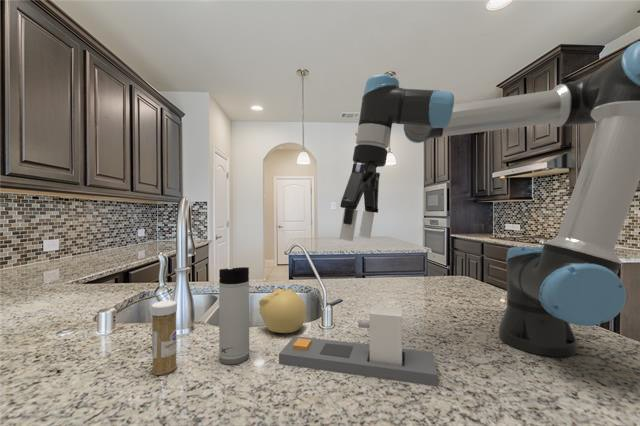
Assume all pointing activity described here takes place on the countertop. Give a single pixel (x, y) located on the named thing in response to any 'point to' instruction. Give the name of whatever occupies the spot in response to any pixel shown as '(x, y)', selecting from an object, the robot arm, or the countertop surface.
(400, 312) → the block
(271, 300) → the tan round potato
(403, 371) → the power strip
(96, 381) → the countertop surface
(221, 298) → the travel mug
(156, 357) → the sprinkles bottle
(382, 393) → the countertop surface
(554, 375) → the countertop surface
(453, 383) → the countertop surface
